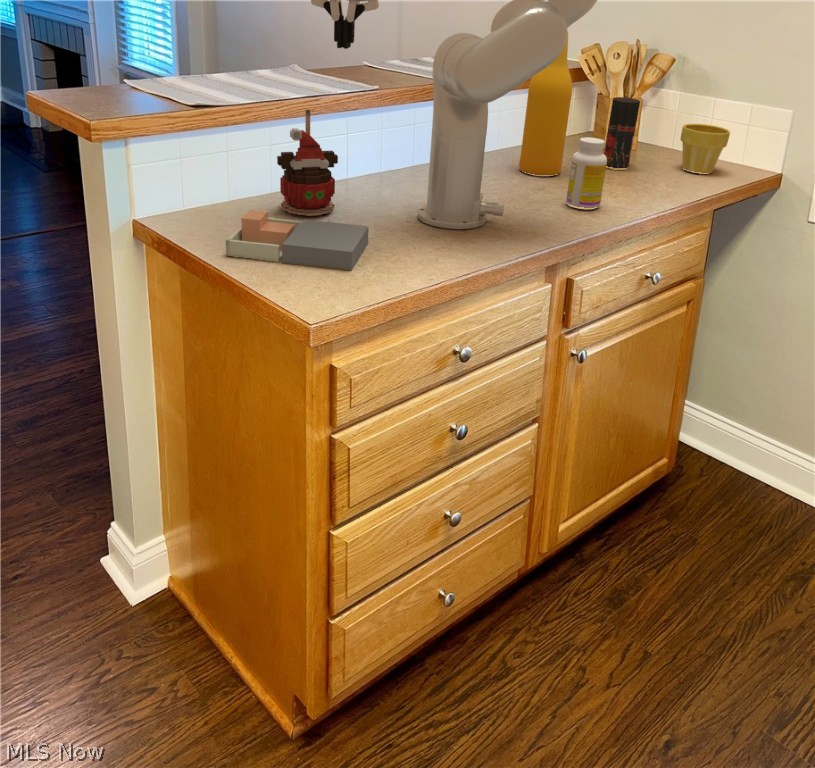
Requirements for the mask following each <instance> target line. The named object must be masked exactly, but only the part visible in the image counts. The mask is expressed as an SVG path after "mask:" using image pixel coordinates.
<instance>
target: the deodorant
mask: <svg viewBox="0 0 815 768" xmlns="http://www.w3.org/2000/svg"><path fill="white" fill-rule="evenodd" d="M640 105H641V100H639V99H636V98H634V97H633V98H631V97H627V96H626V97H623V96H619V97H618V96H617V97H613V98H612V102H611V109H610V115H609V119H608V120H609V121H608V128H607V133H606V134H607V135H606V139H605V144H604V149H603V150H604V151H603V154H604V155H605V156H606V158H607V165H606V166H608V167H613V168H627V167H628V168H629V166H630V160H631V155H632V151H633V150H632V149H633V143H634V138H635V134H636V127H637V121H638V115H639V109H640Z"/></svg>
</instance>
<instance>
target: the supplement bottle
mask: <svg viewBox="0 0 815 768" xmlns="http://www.w3.org/2000/svg"><path fill="white" fill-rule="evenodd" d="M605 144H606V140H604V139H601V138H596V137H589V136H588V137H581V138H580V139H579V143H578V146H579V150H578V151H576V152H575V153H573V155H572V157H571V163H570V172H569V178H568V185H567V193H566V201H565V203H566V202H567V203H568V204H570V205H573V206H577V207H584V208H594V207H598V206H599V207H600V206H601V201H602V195H603V187H604V183H605V177H606V171H607V169H606V165H607V158H606V156H605V155H604V153H603V150H604V149H605ZM567 203H566V204H567ZM599 207H598V208H599Z"/></svg>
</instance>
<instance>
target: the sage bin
mask: <svg viewBox="0 0 815 768" xmlns="http://www.w3.org/2000/svg"><path fill="white" fill-rule="evenodd" d="M268 222H277V223H286V224H294V229H296V228H297V227H298V225H299V224H300V223H301V220H293V219H284V218H283V219H282V218H273V217H268ZM225 255H227V256H226V257H228V256H236V257H235V258H237V256H238V257H245V258H244V259H246V258H252V259H251V260H254V259H259V260H258V261H263V260H265V261H264V262H272V261H273V263H274V262H275V263H279V262H280V261H282V251H281V250H279V245H275V244H266V243H257V242H248V241H242V225H240V226H239V227H238V228H237V229H236V230H234V232H233V233H231V235H230V236H229V237H228V238H227V239H226V240H225Z"/></svg>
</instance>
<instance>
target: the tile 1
mask: <svg viewBox="0 0 815 768" xmlns="http://www.w3.org/2000/svg"><path fill="white" fill-rule="evenodd" d="M268 218H269V212H268V211H262V210H255V209H253V210H252V209H249V211H248V212H246V213H245V214H244V215H243V216H242V217H241V220H240V221H241V226H242V241H248V242H257V243H260V237H259V230H260V229H261V228H262V227H263V226H264V225H265V224H266V223H267V222H268Z"/></svg>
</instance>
